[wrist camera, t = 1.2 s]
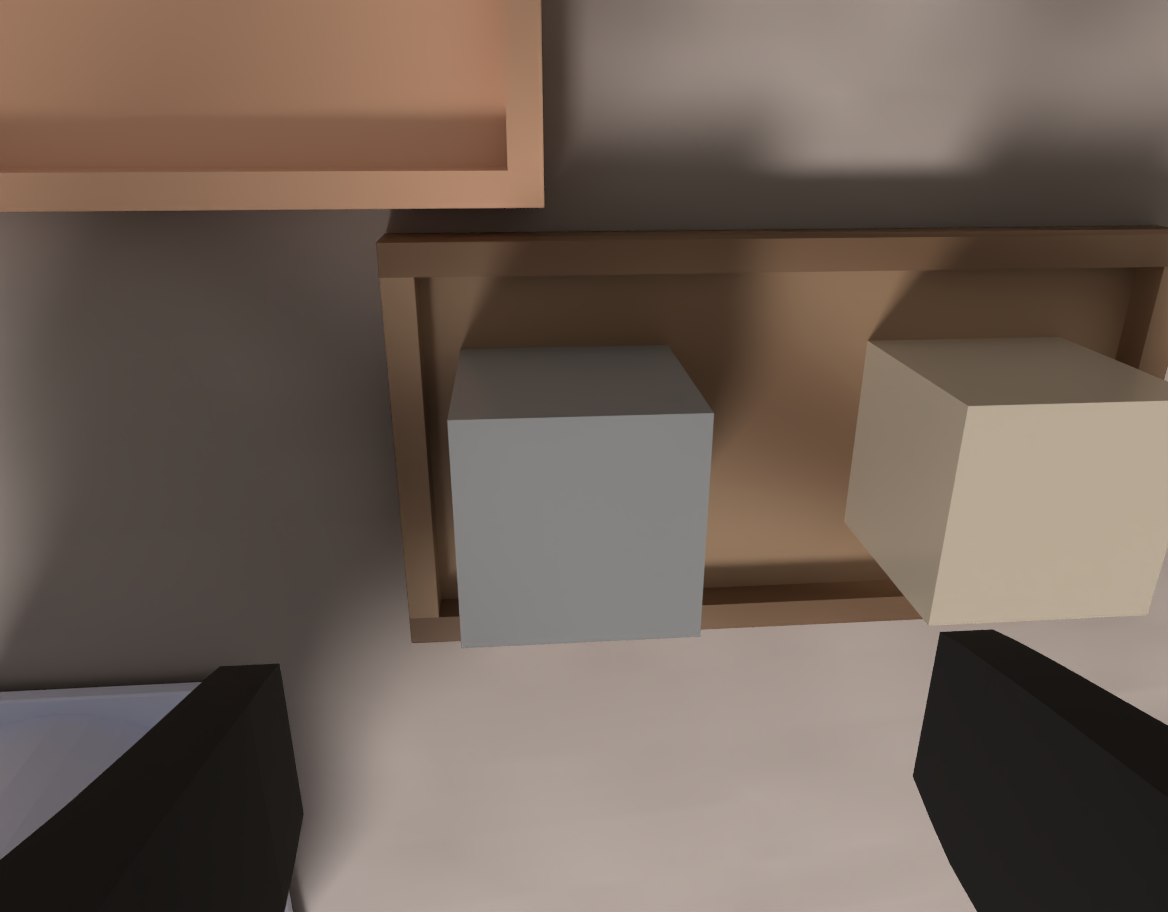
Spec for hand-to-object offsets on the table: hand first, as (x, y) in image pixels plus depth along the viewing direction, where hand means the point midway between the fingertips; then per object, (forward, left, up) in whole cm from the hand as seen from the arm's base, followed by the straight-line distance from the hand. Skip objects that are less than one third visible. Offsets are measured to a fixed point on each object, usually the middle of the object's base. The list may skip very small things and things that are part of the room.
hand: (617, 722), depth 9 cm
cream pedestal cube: (0, -8, -8) cm, 12 cm away
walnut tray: (0, -4, -9) cm, 10 cm away
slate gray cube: (0, 0, -8) cm, 8 cm away
